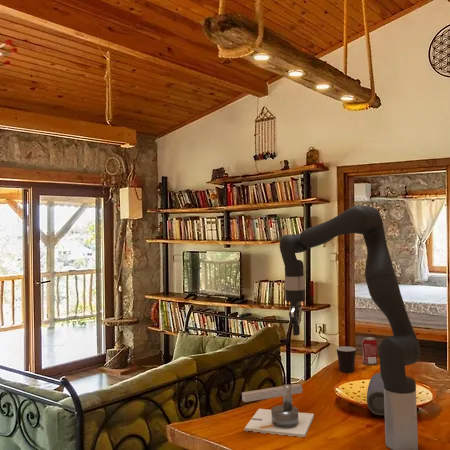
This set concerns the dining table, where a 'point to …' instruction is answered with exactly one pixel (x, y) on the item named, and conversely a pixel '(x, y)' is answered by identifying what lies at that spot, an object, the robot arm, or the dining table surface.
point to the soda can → (370, 350)
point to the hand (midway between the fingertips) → (296, 334)
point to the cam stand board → (264, 425)
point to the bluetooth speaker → (376, 395)
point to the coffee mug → (346, 359)
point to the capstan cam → (281, 413)
